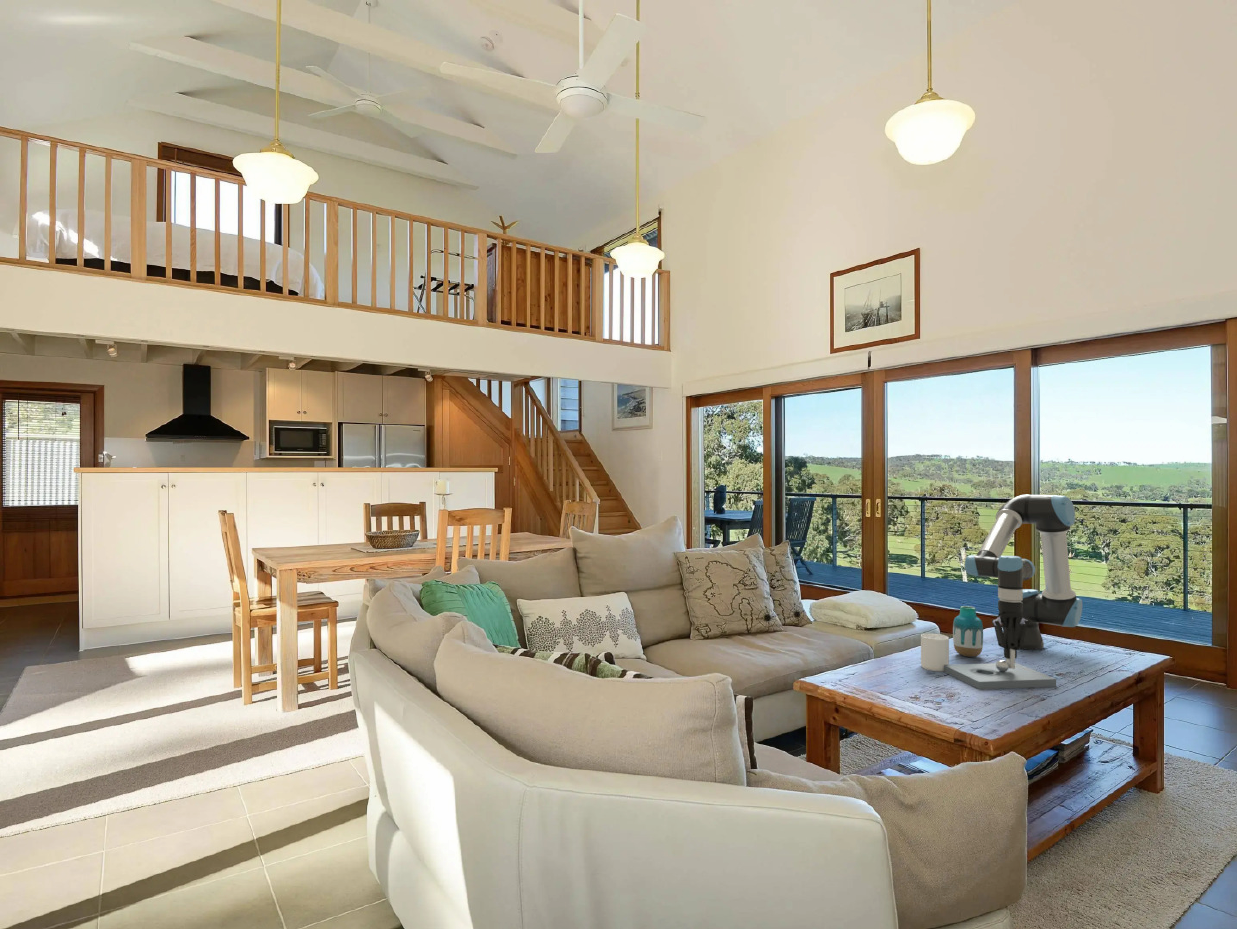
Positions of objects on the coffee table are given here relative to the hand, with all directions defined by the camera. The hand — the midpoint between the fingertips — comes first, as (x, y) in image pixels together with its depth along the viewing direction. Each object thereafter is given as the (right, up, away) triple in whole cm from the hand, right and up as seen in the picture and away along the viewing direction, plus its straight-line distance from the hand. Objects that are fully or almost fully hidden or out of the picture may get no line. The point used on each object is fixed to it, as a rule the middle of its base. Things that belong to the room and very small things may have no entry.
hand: (1010, 667), depth 240 cm
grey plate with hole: (-5, -4, 0) cm, 6 cm away
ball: (-3, +1, 0) cm, 3 cm away
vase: (0, -4, +29) cm, 30 cm away
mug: (-21, -4, +14) cm, 26 cm away
